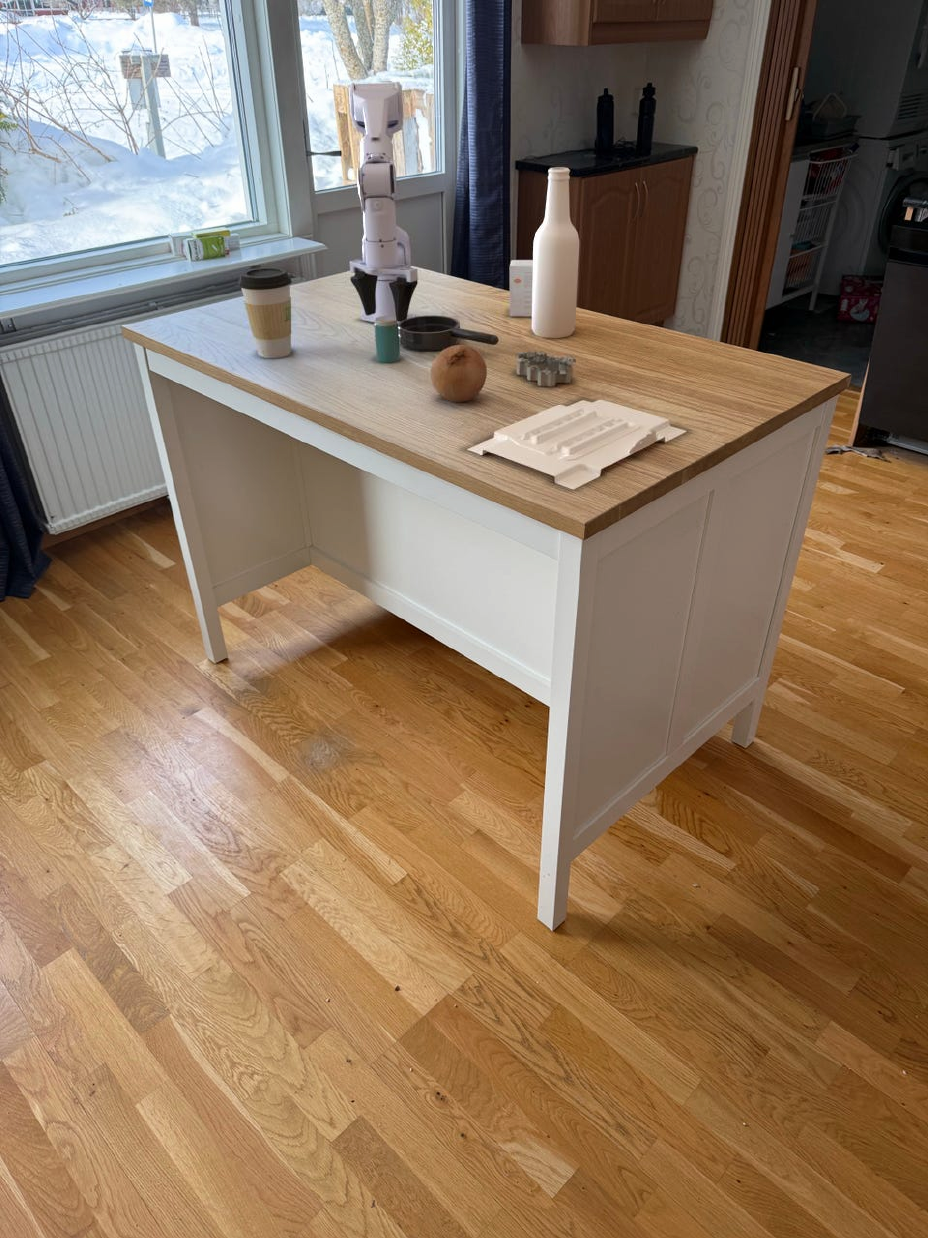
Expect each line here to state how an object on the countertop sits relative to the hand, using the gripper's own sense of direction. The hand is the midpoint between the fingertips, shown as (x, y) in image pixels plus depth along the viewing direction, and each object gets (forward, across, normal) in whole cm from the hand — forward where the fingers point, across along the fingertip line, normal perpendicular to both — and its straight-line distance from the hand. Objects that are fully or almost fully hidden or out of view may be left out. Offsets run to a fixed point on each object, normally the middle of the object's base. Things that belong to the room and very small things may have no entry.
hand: (386, 317), depth 165 cm
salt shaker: (+8, 0, 0) cm, 8 cm away
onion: (+8, +24, -10) cm, 27 cm away
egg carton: (+8, +30, +7) cm, 32 cm away
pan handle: (+6, +11, +12) cm, 18 cm away
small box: (+8, +5, +40) cm, 41 cm away
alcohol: (+8, +17, +31) cm, 37 cm away
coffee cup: (+8, -21, -10) cm, 24 cm away
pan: (+8, 0, +12) cm, 15 cm away
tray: (+8, +50, -14) cm, 52 cm away
